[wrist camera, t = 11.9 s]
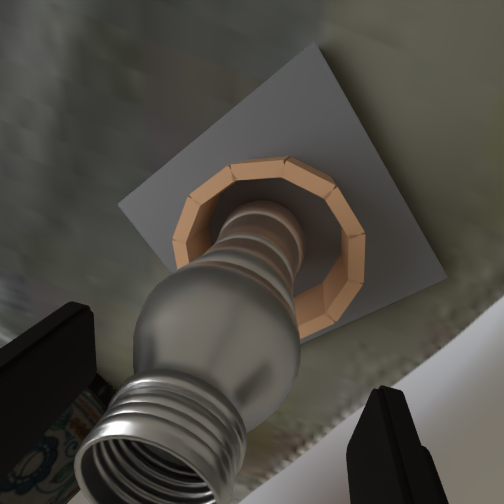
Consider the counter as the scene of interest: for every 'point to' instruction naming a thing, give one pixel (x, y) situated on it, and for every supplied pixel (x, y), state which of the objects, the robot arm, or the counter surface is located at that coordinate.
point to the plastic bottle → (202, 369)
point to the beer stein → (57, 452)
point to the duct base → (295, 197)
